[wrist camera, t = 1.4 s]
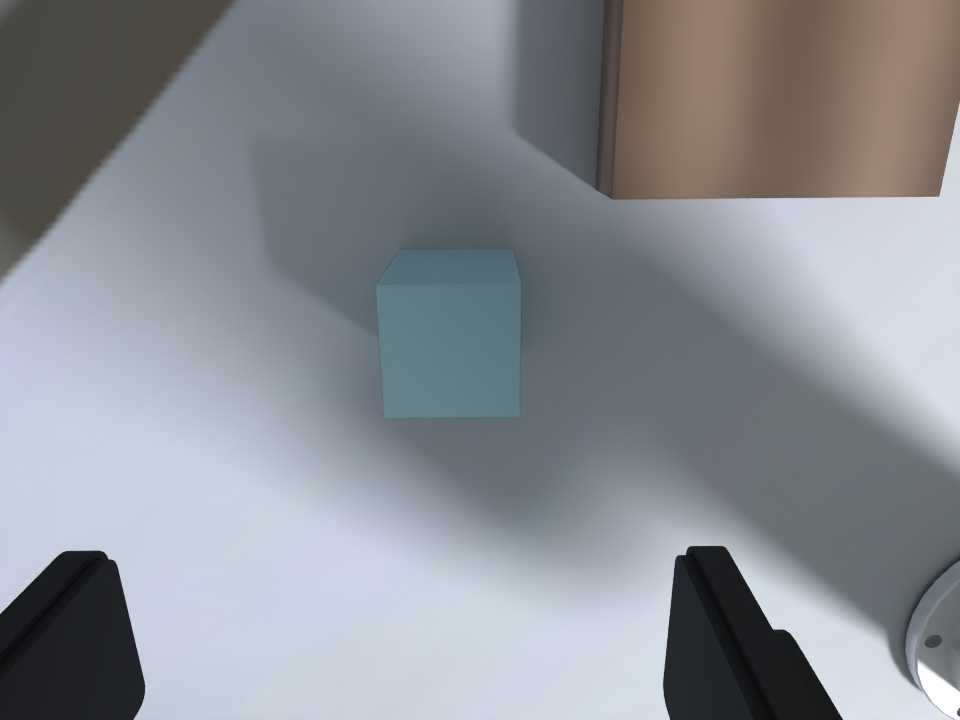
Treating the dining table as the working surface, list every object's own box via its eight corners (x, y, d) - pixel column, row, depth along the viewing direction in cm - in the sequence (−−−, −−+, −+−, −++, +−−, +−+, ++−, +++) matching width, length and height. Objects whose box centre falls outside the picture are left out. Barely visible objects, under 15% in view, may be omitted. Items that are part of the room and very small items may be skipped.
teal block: (513, 248, 29) (521, 284, 23) (512, 355, 31) (519, 417, 24) (400, 249, 29) (375, 285, 23) (405, 355, 31) (383, 418, 24)
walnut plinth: (941, -152, 24) (1024, -203, 21) (878, 186, 28) (939, 196, 25) (611, -147, 24) (634, -197, 21) (595, 189, 28) (612, 199, 25)
